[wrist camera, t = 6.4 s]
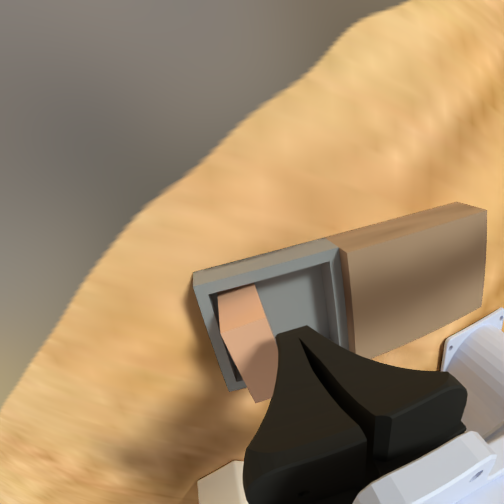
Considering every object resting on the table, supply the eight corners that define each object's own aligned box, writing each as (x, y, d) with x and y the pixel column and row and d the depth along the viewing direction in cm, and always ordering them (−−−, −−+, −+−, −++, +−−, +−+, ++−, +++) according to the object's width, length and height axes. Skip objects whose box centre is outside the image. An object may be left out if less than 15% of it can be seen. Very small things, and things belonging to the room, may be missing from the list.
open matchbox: (456, 291, 21) (481, 306, 18) (337, 338, 20) (356, 364, 17) (456, 202, 19) (486, 210, 16) (324, 237, 18) (347, 252, 15)
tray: (337, 338, 20) (349, 355, 18) (225, 371, 20) (228, 391, 18) (324, 237, 18) (338, 247, 16) (193, 272, 17) (192, 286, 15)
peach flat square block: (294, 389, 15) (255, 403, 15) (276, 341, 19) (245, 352, 19) (265, 317, 13) (220, 333, 13) (251, 276, 17) (217, 289, 17)
